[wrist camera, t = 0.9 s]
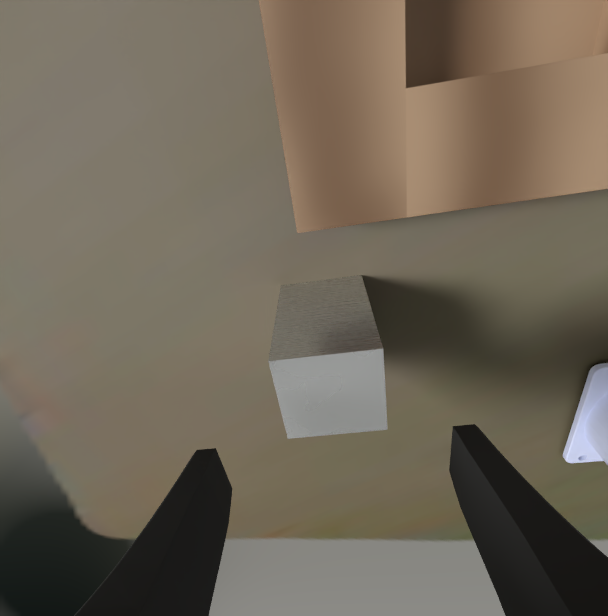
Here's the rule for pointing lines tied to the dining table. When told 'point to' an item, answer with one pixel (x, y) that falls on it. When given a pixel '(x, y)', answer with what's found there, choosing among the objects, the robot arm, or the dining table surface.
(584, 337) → the dining table surface
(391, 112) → the well block
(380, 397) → the grey rectangular block
